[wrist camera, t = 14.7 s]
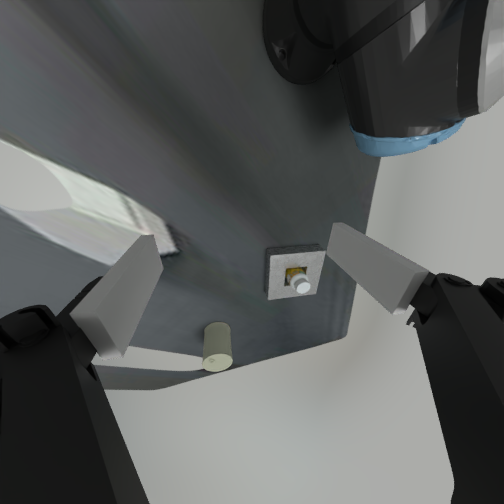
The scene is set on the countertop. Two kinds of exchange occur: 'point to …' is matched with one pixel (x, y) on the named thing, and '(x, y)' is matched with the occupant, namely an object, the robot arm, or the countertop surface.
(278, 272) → the block with square hole
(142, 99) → the countertop surface
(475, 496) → the robot arm
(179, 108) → the countertop surface
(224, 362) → the can
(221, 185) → the countertop surface
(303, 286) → the supplement bottle
